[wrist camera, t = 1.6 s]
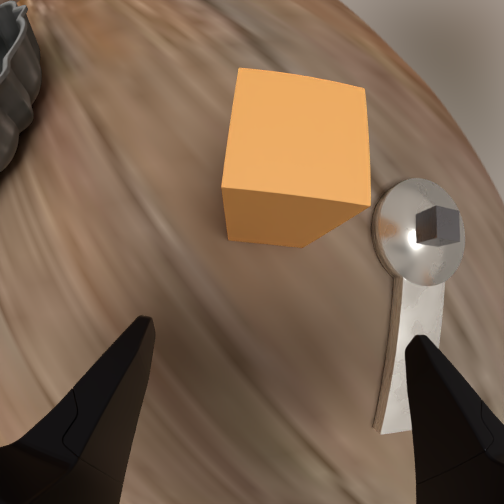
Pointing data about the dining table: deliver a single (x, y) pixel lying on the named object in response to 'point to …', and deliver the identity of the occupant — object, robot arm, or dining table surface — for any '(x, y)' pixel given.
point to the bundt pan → (16, 77)
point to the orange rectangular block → (294, 158)
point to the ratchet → (413, 279)
